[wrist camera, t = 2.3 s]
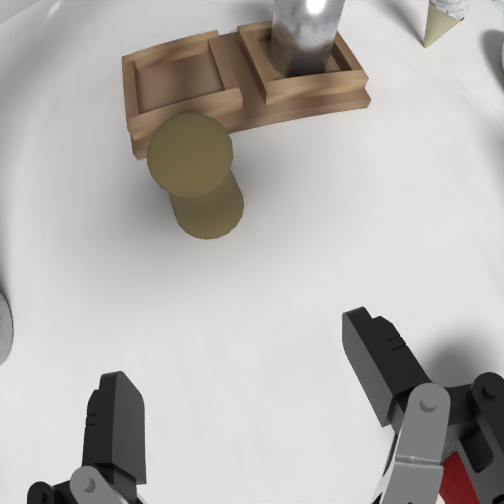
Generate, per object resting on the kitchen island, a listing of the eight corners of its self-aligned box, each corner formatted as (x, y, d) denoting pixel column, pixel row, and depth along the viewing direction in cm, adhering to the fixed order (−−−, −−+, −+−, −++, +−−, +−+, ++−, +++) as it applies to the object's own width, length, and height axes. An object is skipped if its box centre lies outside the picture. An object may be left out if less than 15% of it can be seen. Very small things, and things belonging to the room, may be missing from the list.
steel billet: (280, 84, 29) (290, -4, 18) (262, 47, 30) (265, -35, 19) (335, 76, 29) (361, -5, 18) (314, 40, 30) (329, -36, 19)
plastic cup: (498, 471, 22) (562, 502, 10) (424, 526, 21) (476, 580, 9) (488, 404, 24) (568, 424, 12) (405, 463, 23) (472, 519, 11)
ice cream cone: (411, 52, 32) (454, -30, 17) (405, 30, 33) (441, -47, 18) (443, 64, 32) (491, -11, 17) (436, 41, 33) (476, -30, 18)
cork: (168, 184, 28) (128, 114, 17) (233, 166, 28) (225, 87, 18) (182, 247, 27) (140, 202, 16) (252, 228, 27) (252, 171, 16)
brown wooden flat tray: (137, 160, 29) (125, 142, 25) (127, 70, 31) (118, 51, 28) (366, 107, 30) (377, 87, 26) (320, 30, 32) (324, 10, 29)
